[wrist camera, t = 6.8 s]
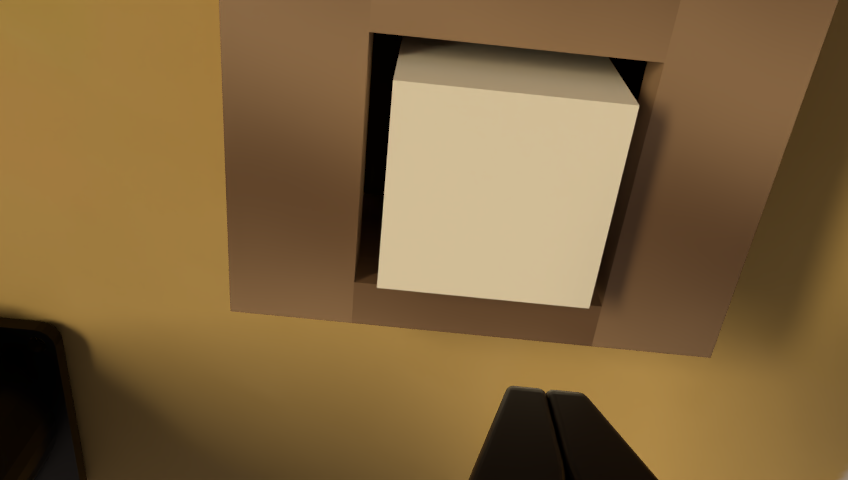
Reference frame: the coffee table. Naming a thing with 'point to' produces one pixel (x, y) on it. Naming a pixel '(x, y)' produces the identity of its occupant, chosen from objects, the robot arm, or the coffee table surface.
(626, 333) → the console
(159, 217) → the coffee table surface
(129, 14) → the coffee table surface
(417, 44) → the cream square block
